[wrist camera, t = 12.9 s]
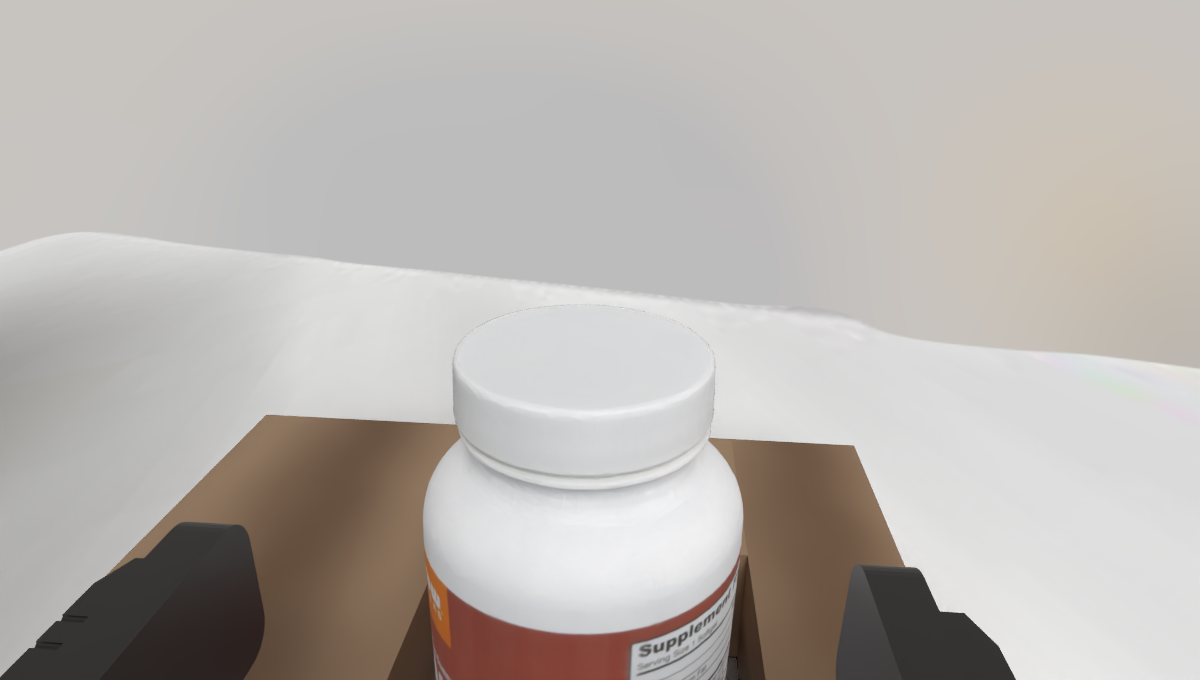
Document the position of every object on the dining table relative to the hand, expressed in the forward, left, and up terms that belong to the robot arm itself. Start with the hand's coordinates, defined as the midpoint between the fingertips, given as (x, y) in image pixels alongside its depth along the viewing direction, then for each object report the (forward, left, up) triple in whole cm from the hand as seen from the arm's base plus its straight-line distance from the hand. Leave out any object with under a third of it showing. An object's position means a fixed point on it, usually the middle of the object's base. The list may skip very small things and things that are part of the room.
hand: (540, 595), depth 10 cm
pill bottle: (0, +5, -10) cm, 11 cm away
